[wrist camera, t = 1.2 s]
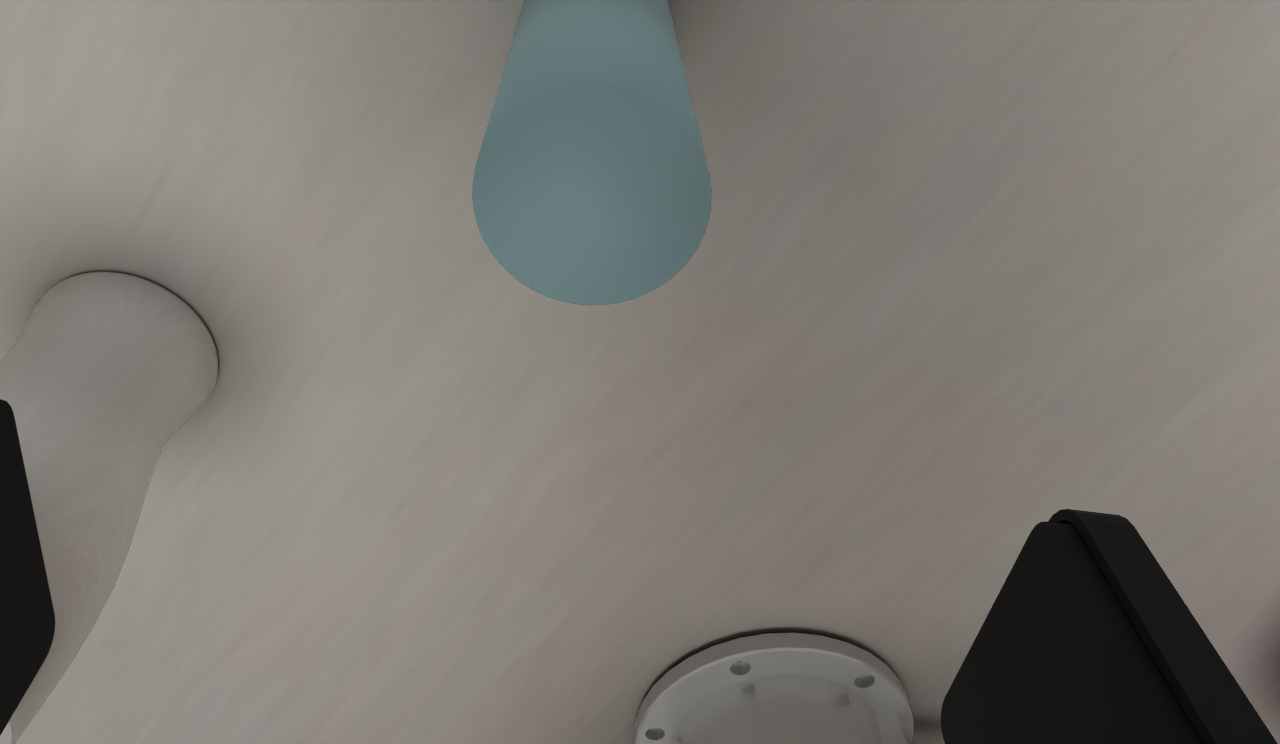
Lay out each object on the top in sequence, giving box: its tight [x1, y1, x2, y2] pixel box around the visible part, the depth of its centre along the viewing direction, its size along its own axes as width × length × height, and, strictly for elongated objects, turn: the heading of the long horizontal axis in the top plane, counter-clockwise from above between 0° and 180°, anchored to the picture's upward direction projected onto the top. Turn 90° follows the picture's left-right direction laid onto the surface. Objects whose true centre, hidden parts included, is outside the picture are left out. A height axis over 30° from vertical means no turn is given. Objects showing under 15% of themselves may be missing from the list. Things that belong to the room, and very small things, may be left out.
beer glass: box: [0, 272, 218, 744], centre depth 28 cm, size 7×7×15 cm
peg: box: [473, 0, 711, 305], centre depth 23 cm, size 4×4×14 cm
